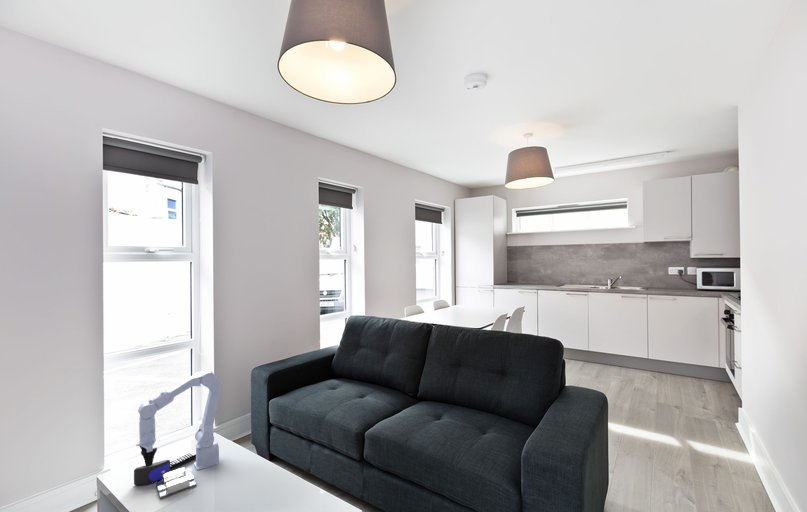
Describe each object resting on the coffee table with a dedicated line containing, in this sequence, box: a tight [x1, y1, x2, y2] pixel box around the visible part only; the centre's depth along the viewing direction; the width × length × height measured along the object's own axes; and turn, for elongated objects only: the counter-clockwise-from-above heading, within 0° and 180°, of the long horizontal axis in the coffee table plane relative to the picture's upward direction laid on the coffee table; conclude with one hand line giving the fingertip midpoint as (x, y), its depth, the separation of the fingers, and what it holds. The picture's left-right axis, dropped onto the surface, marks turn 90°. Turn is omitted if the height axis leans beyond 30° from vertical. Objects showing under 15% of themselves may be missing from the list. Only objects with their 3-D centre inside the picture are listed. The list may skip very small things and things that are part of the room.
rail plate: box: [155, 466, 197, 500], centre depth 159 cm, size 13×12×5 cm
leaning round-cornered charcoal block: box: [133, 459, 171, 487], centre depth 163 cm, size 13×4×8 cm, turn 124°
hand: (147, 462), depth 162 cm, fingers open, 7 cm apart
